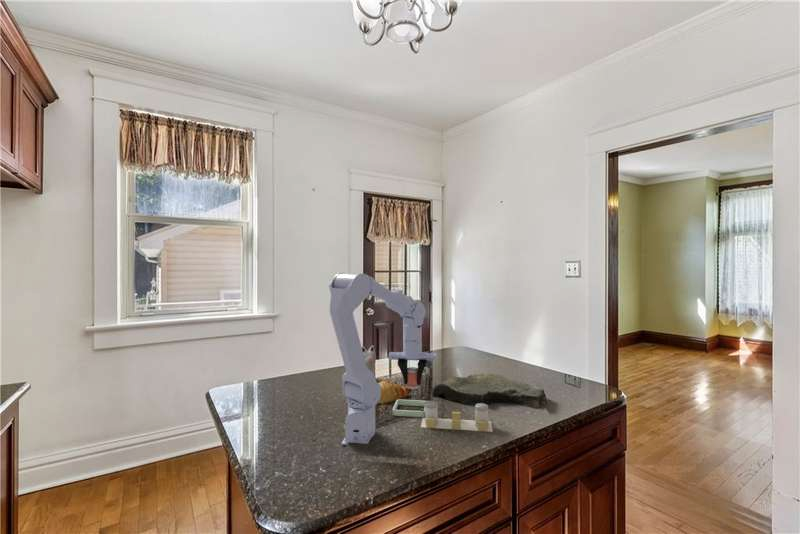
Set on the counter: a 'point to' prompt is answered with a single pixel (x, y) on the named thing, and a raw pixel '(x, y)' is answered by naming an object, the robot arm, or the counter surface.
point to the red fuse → (412, 378)
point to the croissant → (392, 392)
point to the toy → (369, 358)
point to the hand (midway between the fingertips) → (412, 383)
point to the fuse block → (457, 423)
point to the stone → (490, 391)
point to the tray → (408, 412)
